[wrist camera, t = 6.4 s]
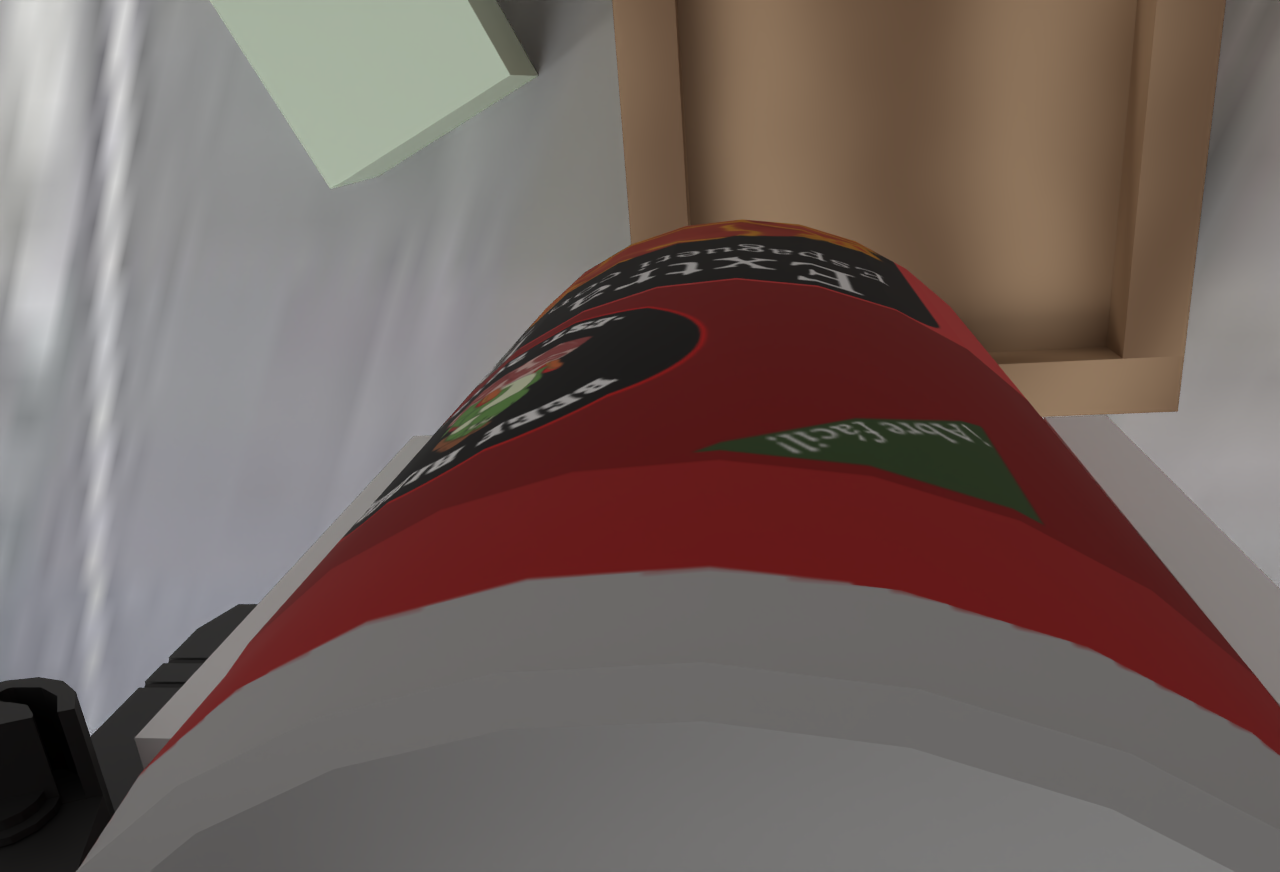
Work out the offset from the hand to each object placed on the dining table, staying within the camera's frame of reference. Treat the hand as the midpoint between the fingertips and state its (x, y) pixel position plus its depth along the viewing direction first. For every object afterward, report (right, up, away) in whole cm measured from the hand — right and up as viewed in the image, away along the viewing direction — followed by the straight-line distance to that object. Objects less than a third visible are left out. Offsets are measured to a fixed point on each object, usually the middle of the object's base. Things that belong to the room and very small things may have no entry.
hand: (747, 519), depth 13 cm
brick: (-9, +13, +16) cm, 22 cm away
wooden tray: (+6, +10, +15) cm, 19 cm away
